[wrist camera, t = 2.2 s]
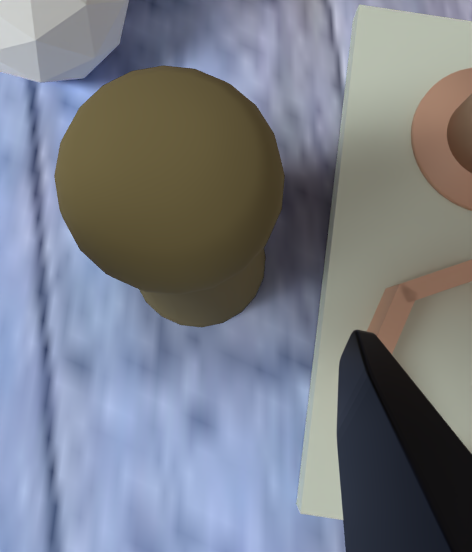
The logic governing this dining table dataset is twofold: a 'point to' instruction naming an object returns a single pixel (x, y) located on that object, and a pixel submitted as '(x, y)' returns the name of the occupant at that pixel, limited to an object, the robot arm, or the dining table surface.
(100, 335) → the dining table surface
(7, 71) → the faceted white bauble
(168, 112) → the cork
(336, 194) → the pin board
